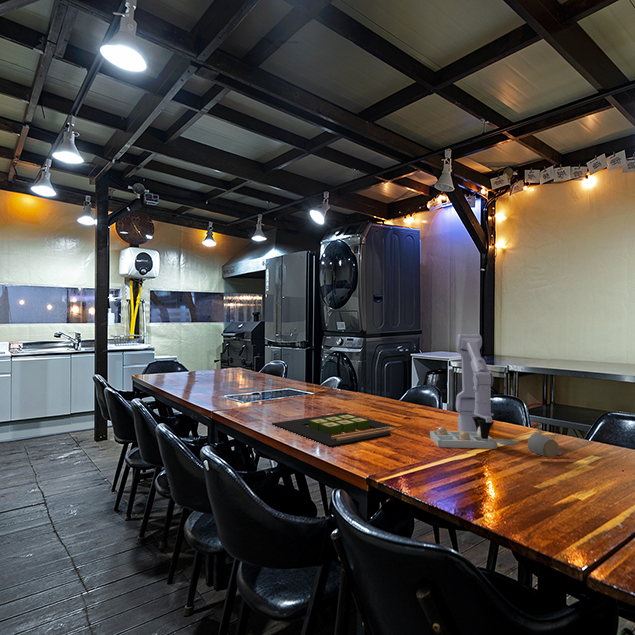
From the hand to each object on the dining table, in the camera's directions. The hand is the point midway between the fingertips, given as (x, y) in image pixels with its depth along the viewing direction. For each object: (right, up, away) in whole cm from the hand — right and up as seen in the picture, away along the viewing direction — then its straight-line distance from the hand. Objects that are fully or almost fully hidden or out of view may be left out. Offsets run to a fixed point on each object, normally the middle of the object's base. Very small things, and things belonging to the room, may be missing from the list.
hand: (482, 437), depth 166 cm
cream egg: (0, -1, 0) cm, 1 cm away
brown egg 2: (-7, -3, 0) cm, 8 cm away
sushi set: (-55, -5, +29) cm, 62 cm away
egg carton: (-7, -4, +4) cm, 9 cm away
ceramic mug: (+20, -5, -9) cm, 22 cm away
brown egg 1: (-14, -3, +8) cm, 16 cm away
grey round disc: (+11, -4, +5) cm, 13 cm away
